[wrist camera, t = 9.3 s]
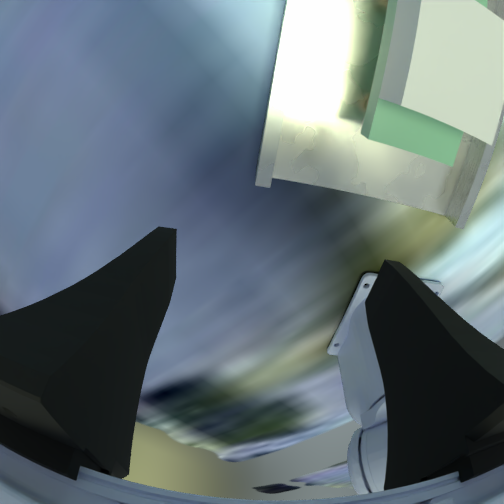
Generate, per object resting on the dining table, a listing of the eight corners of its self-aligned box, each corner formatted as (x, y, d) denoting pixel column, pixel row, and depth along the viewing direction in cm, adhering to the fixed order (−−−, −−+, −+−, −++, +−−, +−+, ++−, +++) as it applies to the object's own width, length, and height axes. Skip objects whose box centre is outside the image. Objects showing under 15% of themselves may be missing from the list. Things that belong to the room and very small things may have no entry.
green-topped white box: (441, 159, 14) (477, 185, 11) (360, 133, 13) (387, 154, 10) (474, 0, 8) (516, -4, 5) (393, -43, 8) (426, -63, 5)
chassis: (447, 212, 19) (469, 236, 16) (256, 170, 18) (254, 192, 15) (498, -7, 9) (528, -9, 6) (303, -93, 8) (310, -117, 5)
